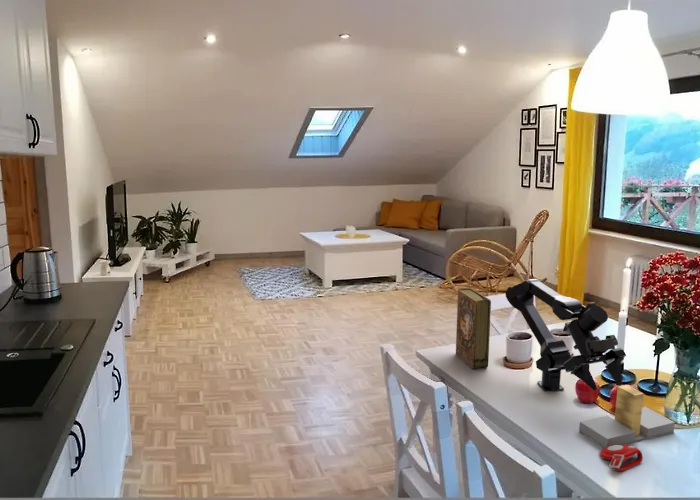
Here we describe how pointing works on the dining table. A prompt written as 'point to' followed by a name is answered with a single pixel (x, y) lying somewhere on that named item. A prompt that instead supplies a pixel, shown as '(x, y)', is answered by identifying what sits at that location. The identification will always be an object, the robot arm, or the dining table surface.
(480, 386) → the dining table surface
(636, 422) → the ochre block
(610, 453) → the tracker holder
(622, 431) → the slotted board
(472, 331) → the book
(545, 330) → the robot arm
